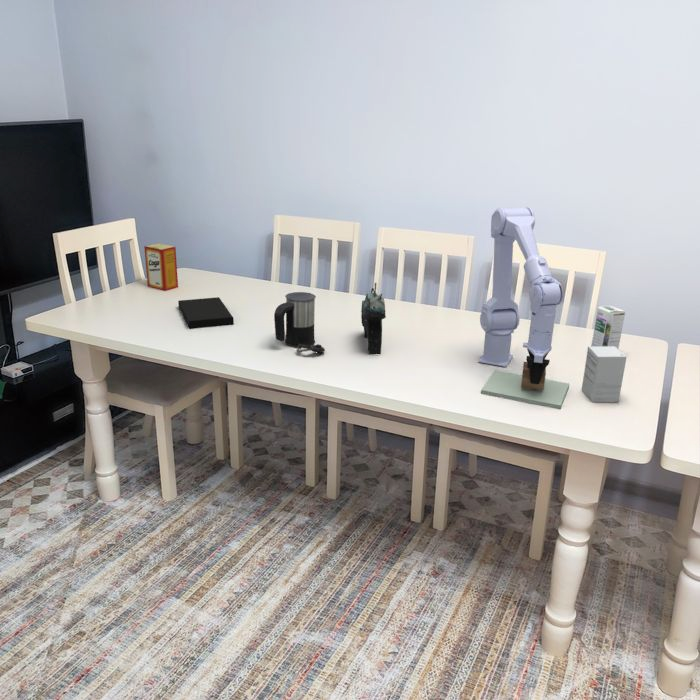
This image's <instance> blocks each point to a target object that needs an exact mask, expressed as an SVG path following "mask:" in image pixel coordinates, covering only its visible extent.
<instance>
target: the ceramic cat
mask: <svg viewBox="0 0 700 700" xmlns="http://www.w3.org/2000/svg"><path fill="white" fill-rule="evenodd" d="M376 290H377V282H375V283H374V288H373V287H372V288H371V290H370V292H367V293H366V295H365V299H364V300H363V299H362V301H361V311H360V313H361V314H360V316H361V317H360V319H361V326H362V327H363V335H364V338H366V339H367V351H368V354H369V355H370V354H380V355H381V353H382V341H383V320H384V319H386V317H387V315H386V304H385V302H386V301H385V298H384V297H383V293H380V294H379V295H378V293H377V291H376Z"/></svg>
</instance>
